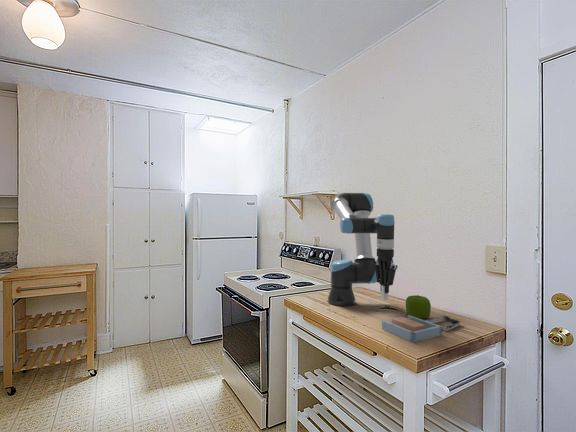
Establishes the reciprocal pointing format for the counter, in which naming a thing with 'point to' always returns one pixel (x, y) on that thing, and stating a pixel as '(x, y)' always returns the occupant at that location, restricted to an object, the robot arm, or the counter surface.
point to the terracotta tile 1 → (399, 321)
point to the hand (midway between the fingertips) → (384, 299)
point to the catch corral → (428, 332)
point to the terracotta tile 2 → (413, 326)
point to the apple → (418, 306)
